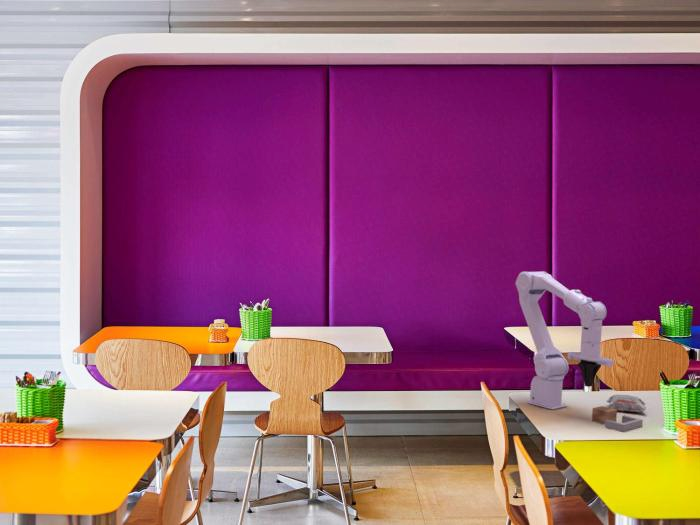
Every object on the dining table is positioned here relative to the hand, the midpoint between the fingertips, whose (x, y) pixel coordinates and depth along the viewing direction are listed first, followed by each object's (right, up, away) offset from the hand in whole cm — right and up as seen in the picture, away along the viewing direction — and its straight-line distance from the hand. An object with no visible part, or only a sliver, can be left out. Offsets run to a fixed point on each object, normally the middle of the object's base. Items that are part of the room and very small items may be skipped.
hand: (588, 385), depth 233 cm
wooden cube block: (+3, -10, -4) cm, 11 cm away
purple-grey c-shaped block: (+8, -11, -9) cm, 16 cm away
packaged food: (+15, -10, +10) cm, 21 cm away
